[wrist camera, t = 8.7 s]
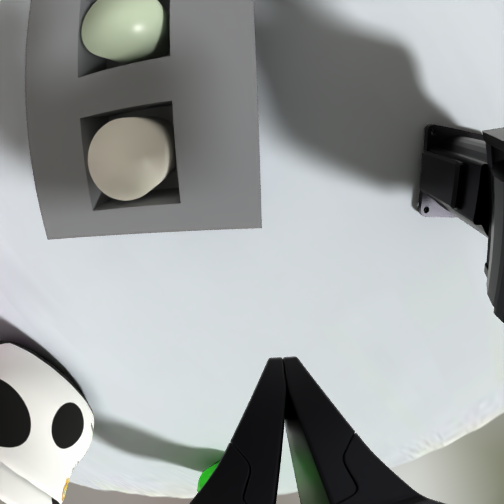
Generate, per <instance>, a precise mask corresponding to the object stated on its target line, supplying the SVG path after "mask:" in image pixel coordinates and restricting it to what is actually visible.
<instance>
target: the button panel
mask: <svg viewBox="0 0 504 504" xmlns="http://www.w3.org/2000/svg"><path fill="white" fill-rule="evenodd" d="M96 1H97V0H31V6H30V13H29V22H28V31H27V44H26V65H25V92H26V115H27V128H28V138H29V147H30V155H31V162H32V169H33V175H34V181H35V186H36V192H37V197H38V201H39V206H40V211H41V215H42V219H43V223H44V227H45V231H46V235H47V239H48V240H49V239H62V238H76V237H90V236H106V235H122V234H139V233H157V232H176V231H198V230H221V229H247V228H262V220H261V185H260V153H259V124H258V96H257V71H256V47H255V25H254V4H253V0H158V1H159V2H160V3H161V5H162V6H163V7H164V8H165V9H166V10H167V11H168V12H169V14H170V49H169V51H168V52H167V53H166V54H165V55H164V56H163V57H161V58H156V59H151V60H145V61H140V62H136V63H131V64H127V65H125V64H122V63H119V62H116V61H113V60H110V59H107V58H103V57H100V56H97V55H94V54H93V53H91V52H90V51H89V50H88V49H87V48H86V47H85V45H84V43H83V40H82V33H81V31H82V24H83V21H84V18H85V16H86V14H87V12H88V11H89V9H90V8H91V6H92V5H93V4H94V3H95V2H96ZM144 116H155V117H159V118H162V119H164V120H166V121H168V122H169V123H170V124H172V125H173V126H174V137H175V150H176V161H177V167H176V169H175V170H174V171H173V172H172V174H170V175H169V176H168V177H167V178H166V179H164V180H163V181H162V182H160V183H159V184H158V185H157V186H155V187H154V188H153V189H152V190H150V191H149V192H148V193H147V194H145V195H144V196H142V197H140V198H137V199H134V200H128V201H123V200H117V199H114V198H111V197H109V196H107V195H106V194H104V193H103V192H102V191H101V190H100V189H99V188H98V187H97V186H96V184H95V183H94V181H93V179H92V177H91V175H90V172H89V167H88V151H89V147H90V144H91V142H92V139H93V138H94V136H95V134H96V133H97V132H98V130H99V129H100V128H101V127H103V126H104V125H105V124H107V123H108V122H110V121H112V120H115V119H119V118H127V117H144Z"/></svg>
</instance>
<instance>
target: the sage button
mask: <svg viewBox="0 0 504 504" xmlns="http://www.w3.org/2000/svg"><path fill="white" fill-rule="evenodd" d="M81 33H82V40H83V43H84V45H85V47H86V48H87V49H88V50H89V51H90V52H91V53H93V54H94V55H97V56H100V57H103V58H107V59H110V60H113V61H116V62H119V63H122V64H125V65H127V64H131V63H136V62H140V61H145V60H151V59H156V58H161V57H163V56H164V55H165V54H166V53H167V52H168V51H169V49H170V14H169V12H168V11H167V10H166V9H165V8H164V7H163V6H162V5H161V3H160V2H159V1H158V0H97V1H96V2H95V3H94V4H93V5H92V6H91V8H90V9H89V11H88V12H87V14H86V16H85V18H84V21H83V24H82V31H81Z"/></svg>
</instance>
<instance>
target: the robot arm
mask: <svg viewBox="0 0 504 504" xmlns="http://www.w3.org/2000/svg"><path fill="white" fill-rule="evenodd" d="M431 129H433V134H431ZM482 133H483V135H480V134H476V133H471V132H467V131H463V130H458V129H453V128H449V127H443V126H438V125H432V124H428V125H427V126H426V127H425V136H424V153H423V154H422V166H421V178H420V197H419V205H418V211H419V213H420V214H421V215H423V216H425V217H458V218H459V219H461V220H463V221H464V222H466V223H467V224H469V225H470V226H472V227H473V228H475V229H476V230H477V231H479V232H480V233H482V234H483V235H485V236H486V237H487V238H488V252H487V262H486V263H485V269H484V272H485V274H486V276H487V294H488V296H489V298H490V301H491V303H492V305H493V306H494V314H495V315H496V316H497V317H498V318H499V319H500V320H501V321H502V322H503V323H504V128H497V129H490V130H484V131H482ZM425 207H426V210H425V211H424V208H425ZM284 421H285V427H286V433H287V438H288V443H289V448H290V453H291V458H292V463H293V468H294V473H295V478H296V483H297V488H298V493H299V497H300V503H301V504H445V503H442V502H438V501H435V500H432V499H429V498H426V497H424V496H422V495H420V494H419V493H417V492H416V491H415V490H413V489H412V488H411V487H410V486H409V485H407V484H406V483H405V482H404V481H403V480H401V479H400V478H399V477H398V476H397V475H396V474H395V473H394V472H392V471H391V470H390V469H389V468H388V467H387V466H386V465H385V464H384V463H383V462H382V461H381V460H380V459H379V458H378V457H377V456H376V455H375V454H374V453H373V452H372V451H371V450H370V449H369V448H368V446H367V445H366V444H365V443H364V442H363V441H362V439H361V438H360V437H359V436H358V434H357V433H355V431H354V430H353V428H352V427H351V426H350V425H349V423H348V422H347V421H346V420H345V418H344V417H343V416H342V415H341V413H340V412H339V411H338V409H337V408H336V407H335V406H334V404H333V403H332V402H331V401H330V399H329V398H328V397H327V395H326V394H325V393H324V392H323V390H322V389H321V388H320V386H319V385H318V384H317V383H316V381H315V380H314V379H313V377H312V376H311V375H310V374H309V372H308V371H307V370H306V368H305V367H304V366H303V364H302V363H301V362H300V361H299V359H298V358H297V357H284V358H283V359H282V358H281V357H278V358H269V359H268V361H267V364H266V366H265V368H264V370H263V373H262V375H261V377H260V379H259V382H258V384H257V386H256V388H255V390H254V393H253V395H252V397H251V399H250V401H249V403H248V406H247V408H246V410H245V412H244V414H243V416H242V418H241V420H240V422H239V425H238V427H237V429H236V431H235V433H234V435H233V437H232V439H231V441H230V442H231V443H229V445H228V447H227V449H226V451H225V453H224V454H223V456H222V458H221V460H220V462H219V463H218V465H217V467H216V468H215V470H214V471H213V473H212V474H211V476H210V477H209V479H208V480H207V482H206V483H205V484H204V486H203V487H202V488H201V489H200V491H199V492H198V493H197V495H196V496H195V497H194V499H193V500H192V501H191V502H190V504H276V498H277V490H278V482H279V473H280V463H281V454H282V443H283V433H284ZM354 433H355V434H354Z"/></svg>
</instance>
